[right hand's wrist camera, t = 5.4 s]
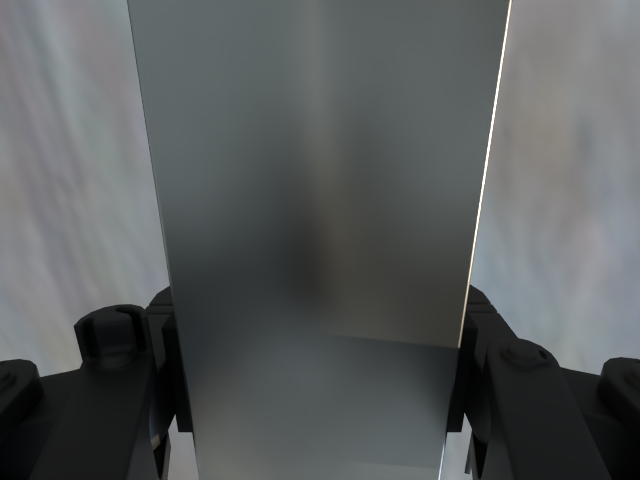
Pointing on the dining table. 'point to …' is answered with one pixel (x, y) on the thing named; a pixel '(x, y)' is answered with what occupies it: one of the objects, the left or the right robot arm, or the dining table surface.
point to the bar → (319, 221)
